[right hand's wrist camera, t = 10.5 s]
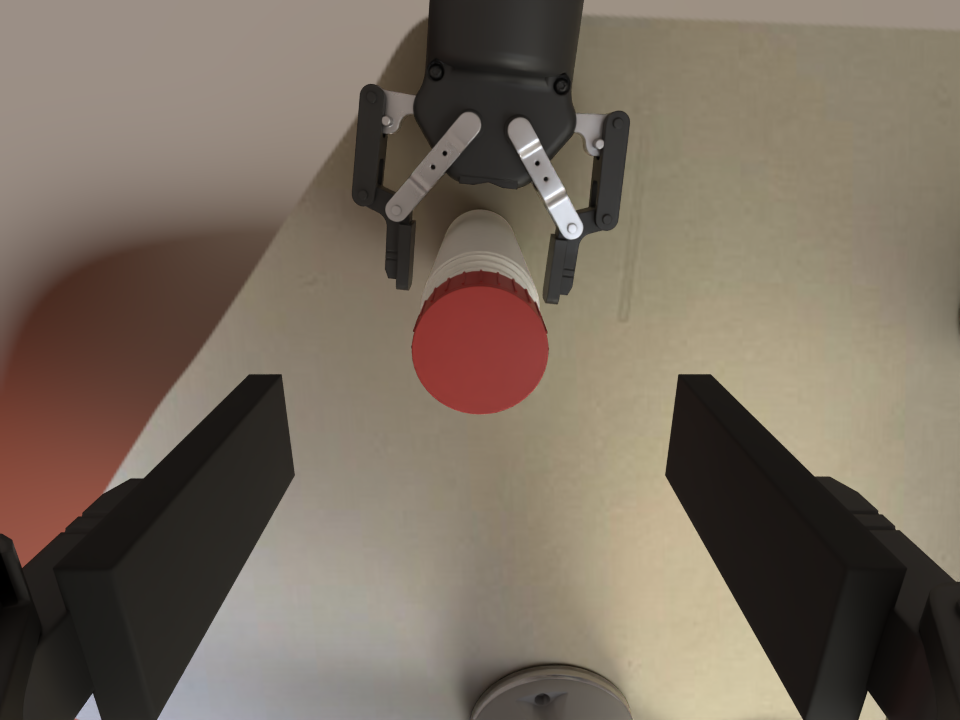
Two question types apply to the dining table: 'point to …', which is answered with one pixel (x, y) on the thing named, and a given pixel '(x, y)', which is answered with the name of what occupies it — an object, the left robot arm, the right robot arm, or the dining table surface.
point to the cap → (480, 343)
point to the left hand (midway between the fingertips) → (476, 294)
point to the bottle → (480, 252)
